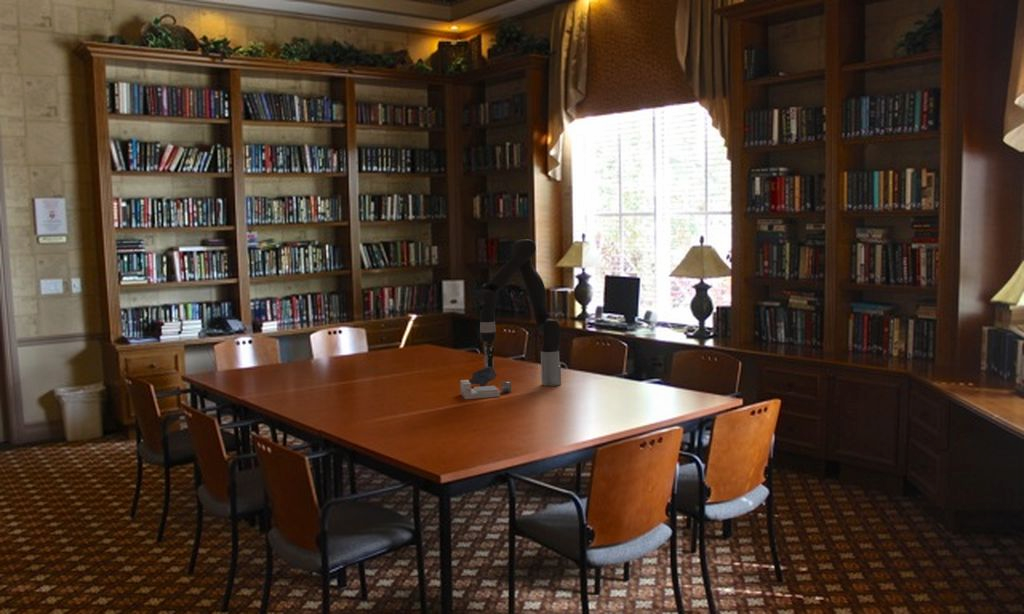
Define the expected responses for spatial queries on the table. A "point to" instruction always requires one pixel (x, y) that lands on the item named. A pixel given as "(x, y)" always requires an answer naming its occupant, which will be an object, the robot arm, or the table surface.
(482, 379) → the stone
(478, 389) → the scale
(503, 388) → the cylinder
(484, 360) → the grey glossy egg shape
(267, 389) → the table surface
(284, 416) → the table surface
